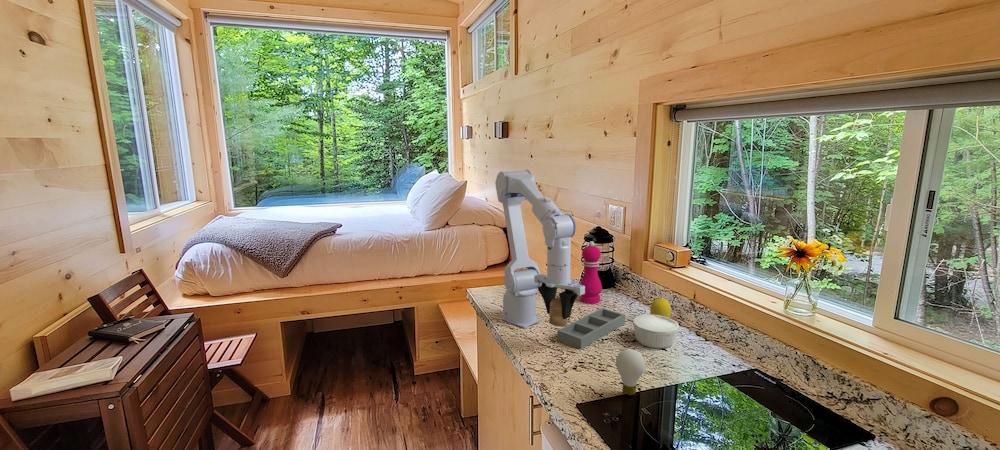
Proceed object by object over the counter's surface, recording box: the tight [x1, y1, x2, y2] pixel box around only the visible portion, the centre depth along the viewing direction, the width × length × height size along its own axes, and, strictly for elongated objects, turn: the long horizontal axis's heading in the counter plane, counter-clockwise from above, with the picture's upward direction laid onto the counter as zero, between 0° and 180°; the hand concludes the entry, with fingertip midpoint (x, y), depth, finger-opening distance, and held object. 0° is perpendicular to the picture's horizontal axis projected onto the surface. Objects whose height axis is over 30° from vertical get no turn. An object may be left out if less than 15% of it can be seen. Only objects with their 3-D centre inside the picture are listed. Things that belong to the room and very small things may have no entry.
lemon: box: [649, 296, 672, 319], centre depth 128 cm, size 6×6×8 cm
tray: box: [556, 307, 626, 350], centre depth 124 cm, size 8×21×3 cm, turn 134°
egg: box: [549, 296, 568, 327], centre depth 114 cm, size 4×4×7 cm
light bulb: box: [615, 348, 646, 396], centre depth 94 cm, size 6×6×10 cm
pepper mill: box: [579, 240, 603, 305], centre depth 146 cm, size 7×7×20 cm
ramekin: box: [632, 313, 680, 349], centre depth 118 cm, size 11×11×5 cm
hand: (558, 315), depth 114 cm, fingers closed on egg, 4 cm apart
